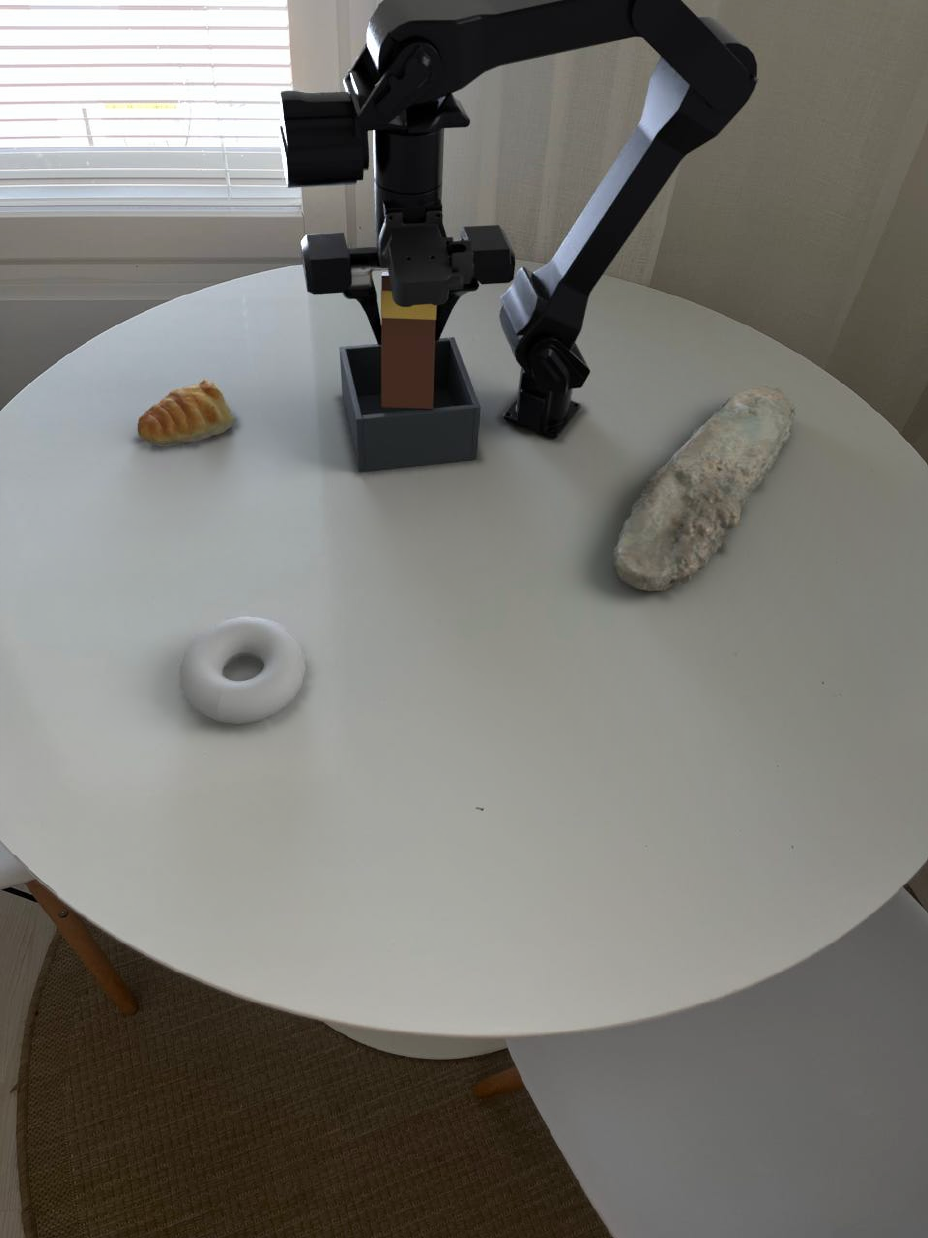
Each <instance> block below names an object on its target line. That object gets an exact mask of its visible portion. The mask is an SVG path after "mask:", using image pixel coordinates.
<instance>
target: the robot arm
mask: <svg viewBox="0 0 928 1238" xmlns="http://www.w3.org/2000/svg"><path fill="white" fill-rule="evenodd" d="M631 38H642V39H643V40H644V41H645V42H646V43H647V44H648V45H649V46H650V47H651V48H652V49H653V50H654V51H655V52H656V53H657V54H658V56H660V57H659V59H658V61H657V63H656V65H655V68H654V70H653V72H652V74H651V77H650V78H649V83H648V88H647V91H646V96H645V100H644V105H643V109H642V114H641V118H640V120H639V123H638V124H637V126H636V128H635V129H634V130H633V133H632V134H631V135H630V137H629V139H628V140H627V142H626V143H625V144H624V147H623V148H622V149H621V151H620V153H619V154H618V155H617V157H616V159H615V160H614V162H613V164H612V165H611V167H610V168H609V170H608V172H607V173H606V175H605V176H604V178H603V180H601V182H600V183H599V185H598V187H597V188H596V190H595V191H594V193H593V195H592V196H591V198H590V199H589V201H588V202H587V204H586V205H585V207H584V209H582V212H581V213H580V215H579V217H578V218H577V220H576V221H575V223H574V225H572V227H571V229H570V231H569V232H568V234H567V235H566V236H565V238H564V240H563V241H562V243H561V244H560V246H559V248H558V249H557V251H556V252H555V254H554V256H553V257H552V258H551V260H550V261H549V262H548V263H547V264H545V265H544V266H542V267H540V268H539V269H537V270H535V271H533V272H532V270H529V268H527V267H525V266H521V267H520V268H519V269H518V271H517V272H516V275H515V271H516V255H515V253H516V252H515V251H514V249H513V247H512V244H511V243H510V241H509V239H508V236H507V234H506V231H504V230H503V228H502V227H501V226H500V225H499V224H494V225H493V224H492V225H491V224H490V225H489V224H488V225H472V226H471V225H470V226H469V225H468V226H462V228H461V230H460V238H454V237H453V236H448V235H447V233H446V229H445V225H444V221H443V219H444V214H443V204H442V203H443V174H444V148H445V147H444V146H445V145H444V144H445V129H460V128H467V127H469V126H470V124H471V119H470V117H469V115H468V113H467V112H466V110H465V108H464V106H463V104H462V102H461V101H460V100H458V99H457V98H456V97H455V96H454V94H455V93H457V92H458V91H462V90H463V89H465V88H466V87H468V85H470V84H471V83H472V82H474V81H475V80H476V79H478V78H479V77H480V76H481V75H483V74H484V73H487V72H489V71H491V70H494V69H495V68H496V69H497V68H499V67H501V66H507V65H512V64H516V63H520V62H521V63H522V62H524V61H530V60H534V59H539V58H543V57H548V56H552V55H557V54H561V53H566V52H571V51H577V50H580V49H581V50H582V49H585V48H589V47H590V48H591V47H594V46H599V45H604V44H609V43H613V42H617V41H621V40H622V41H623V40H626V39H631ZM758 81H759V79H758V63H757V59H756V56H755V54H754V52H753V51H752V50H751V49H750V48H749V47H748V46H747V45H746V44H745V43H744V42H743V41H742V40H741V39H740V38H738V37H737V36H736V35H735V34H734V33H732V31H731V30H729V29H728V28H727V27H726V26H725V25H723V24H722V22H720V21H719V20H717V19H715V18H713V17H711V16H698V15H696V14H695V12H694V11H692V10H691V8H690V7H688V5H687V4H686V3H685V2H684V1H683V0H381V2H379V3H378V5H377V7H376V9H375V11H374V12H373V14H372V16H371V17H370V19H369V23H368V27H367V30H366V43H365V44H364V46H363V47H362V49H361V51H360V52H359V54H358V55H357V57H356V59H355V60H354V62H353V63H352V65H351V67H350V69H348V71H347V73H346V75H345V76H344V78H343V81H342V82H343V85H344V88H345V91H327V92H326V91H325V92H322V91H321V92H319V91H318V92H305V91H300V90H281V92H279V99H280V123H281V124H280V125H279V126H278V129H279V131H278V132H279V141H280V149H281V150H280V151H281V157H282V165H283V170H284V178H285V179H284V180H285V185H286V187H287V188H286V189H294V188H295V189H297V188H315V187H333V186H334V187H335V186H355V185H357V182H358V181H359V182H360V181H364V175H365V174H364V173H365V171H369V169H370V147H369V132H372V133H373V169H374V170H373V172H374V175H373V176H374V216H375V217H374V219H375V246H368V247H366V246H365V247H350V248H349V247H348V244H347V239H346V236H345V232H330V233H310V234H305V236H304V237H303V238H302V240H301V241H300V252H301V253H300V254H301V263H302V269H303V275H304V280H305V287H306V291H307V293H309V294H312V295H315V296H316V295H331V294H332V295H333V294H342V295H343V297H344V298H345V299H348V300H356V301H357V302H358V303H359V304H360V306H361V308H362V310H363V311H364V313H365V315H366V317H367V321H368V322H369V325H370V327H371V330H372V332H373V335H374V338H375V341H376V344H378V345H381V314H380V310H379V303H378V292H377V290H376V285H375V282H374V278H373V272H378V271H379V272H380V271H387V272H388V273H389V278H390V284H391V290H392V297H393V301H394V302H395V303H396V304H397V305H399V306H401V307H411V306H413V305H423V304H433V305H436V321H435V341H438V340H439V338H441V336H442V333H443V331H444V330H445V327H446V325H447V322H448V320H449V318H450V316H451V314H452V311H453V309H454V308H455V306H456V304H457V303H458V301H459V300H460V298H461V297H462V296H464V295H466V294H467V293H472V292H477V290H479V288H480V285H496V284H497V285H498V284H510V283H511V282H512V281H513V282H512V283H511V285H510V287H509V288H508V289H507V291H506V292H505V293H503V294H502V295H501V296H499V300H500V302H501V304H502V305H501V308H500V310H499V315H498V317H499V322H500V326H501V329H502V331H503V333H504V336H505V338H506V340H507V342H508V345H509V347H510V350H511V352H512V354H513V357H514V358H515V360H516V363H517V364H518V365H519V367H520V373H519V374H520V375H519V382H518V390H517V397H516V399H515V400H514V401H513V403H512V404H511V405H510V406H509V407H508V408H507V409H506V410H505V412H504V413H503V420H505V421H507V422H510V423H512V424H515V425H518V426H519V427H523V428H525V429H528V430H530V431H533V432H535V433H538V434H540V435H543V436H545V437H548V438H551V439H557V438H559V436H560V435H561V434H562V433H563V432H564V430H565V429H566V428H567V427H568V425H569V424H570V423H571V421H572V420H573V419H574V418H575V417H576V415H577V414H578V413H579V411H580V410H581V404H580V403H578V402H576V401H573V400H572V395H573V389H581V388H583V386H584V385H585V382H586V381H587V379H588V377H589V375H590V374H591V369H590V367H589V366H588V363H587V362H586V360H585V358H584V356H583V354H582V353H581V350H580V348H579V346H578V344H577V342H576V341H577V339H578V338H579V336H580V334H581V331H582V330H583V329H582V328H583V324H584V320H585V315H586V311H587V306H588V301H589V298H590V296H591V293H592V291H594V289H595V287H596V286H597V284H598V283H599V281H600V280H601V278H602V277H603V276H604V274H605V273H606V271H607V270H608V269H609V267H610V265H611V264H612V262H613V261H614V260H615V258H616V256H617V255H618V254H619V252H620V251H621V250H622V248H623V247H624V245H625V244H626V242H627V241H628V239H629V238H630V236H631V235H632V233H633V232H634V231H635V229H636V227H637V226H638V224H639V223H640V221H641V220H642V219H643V217H644V216H645V214H646V213H647V211H648V210H649V209H650V207H651V206H652V204H653V203H654V201H656V199H657V197H658V196H659V194H660V193H661V192H662V190H663V189H664V187H665V186H666V185H667V182H668V181H669V180H670V178H671V177H672V175H673V174H674V173H675V171H676V169H677V168H678V166H679V165H680V163H681V162H682V161H683V160H684V159H685V158H686V156H687V155H688V154H691V153H692V152H693V151H695V150H697V149H698V148H700V147H702V146H703V145H705V144H706V143H708V142H710V141H712V140H713V139H715V138H716V137H718V136H719V135H720V134H721V133H722V132H723V130H724V129H725V128H726V127H727V126H728V125H729V124H730V123H731V122H732V120H734V118H735V117H736V116H737V115H738V114H739V113H740V112H741V111H742V110H743V108H744V107H745V106H746V105H747V103H748V102H749V101H750V99H751V97H752V95H753V93H754V92H755V90H756V87H757V84H758Z"/></svg>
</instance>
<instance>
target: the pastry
mask: <svg viewBox="0 0 928 1238" xmlns="http://www.w3.org/2000/svg"><path fill="white" fill-rule="evenodd" d="M234 422H235V418H234V414H233V412H232V410H231V408H230V405H229V404H228V403H227V401H226V400H225V397H224V394H223V393H222V391H221V390H220V388H219V387H218V386H217V385H216V384H215V383H214V382H211V381H209V380H206V379H203V380H202V381H199V383H198V384H193V385H191V386H184V387H182V388H179V389H174V390H172V391H170V392H169V393H168V394H167V395H166V396H165V397H164V398H162V399H161V400H160V401H159V402H158V403H156V404H153V405H152V406H151V407H149V409H148V410H146V411H145V412H144V413H143V414H142V415H141V416H140V417H139V418H138V423H137V435H138V437H139V438H140V439H141V440H142V441H144V442H145V443H148V444H151V445H153V446H158V447H166V446H167V447H174V446H175V445H181V444H184V445H187V444H191V443H195V442H199V441H203V440H206V439H209V438H210V437H212V436H214V435H215V436H218V435H222V434H224V433H225V432H227V431H228V430H229V429H230V428H231V427H232V425H233V424H234Z"/></svg>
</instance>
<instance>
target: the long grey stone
mask: <svg viewBox="0 0 928 1238" xmlns="http://www.w3.org/2000/svg"><path fill="white" fill-rule="evenodd" d="M796 408H797V407H796V406H795V405H794V404H792V400H791V398H790V396H788V394H786V393H784V392H783V391H782V390H781V389H780V387H769V386H767V385H764V386H756V387H753V388H748V389H746V390H742V391H740V392H738V393H734V394H733V395H732V396H731V397H728V398H727V399H726V400H724V402H723V403H722V404H721V405H720V406H719V408H718V409H717V410H716V411H714V413H713V414H712V416H710V418H708V419H707V421H706V422H704V424H703V425H700V426H698V427H695V429H694V431H693V432H692V436H691V437H690V439H689V440H687V441H686V443H684V444H683V445H682V446H681V447H680V448H679V449H678V450H676V451H675V452H674V454H673V455H672V457H671V458H670V460H669V461H667V463H665V465H663V467H660V469H658V470H655V471H654V474H653V475H652V476H651V477H650V478H649V479H648V480H647V485H645V486H644V489H643V490H641V491H640V496H639V498H637V500H635V502H634V503H633V504H632V507H631V509H630V510H631V511H630V516H629V517H628V518H627V519H626V520H625V521H624V522H623V524H622V529H621V531H620V533H619V535H618V542H617V545H616V546H615V547H614V549H613V561H614V562H613V565H614V567H615V570H616V576H617V577H618V578H619V579H620V580H621V581H622V582H624V583H626V584H627V585H628V586H631V587H633V588H635V589H637V590H641V591H647V592H653V591H656V592H659V591H660V592H662V591H663V592H665V591H666V590H667V589H670V588H671V587H672V586H675V584H676V583H677V582H679V581H680V583H681V584H682V585H685V584H687V583H688V582H690V581H691V580H692V579H693V575H695V574H696V573H697V572H698V571H700V570H702V569H704V567H706V566H707V565H708V563H709V560H710V559H711V558H712V556H713V555H715V554H717V552H718V549H721V548H722V544H723V542H724V541H725V540H726V539H727V537H728V536H729V534H730V530H731V529H734V528H736V527H737V526H738V525H739V524H740V522H741V513H742V511H743V510H744V508H745V505H746V504H747V503H748V502H747V501H748V499H749V498H750V495H751V494H752V492H754V491H755V490H756V488H757V487H759V485H760V484H761V483H762V481H763V479H764V476H766V474H768V473H770V472H771V470H772V468H773V465H774V464H775V463H776V461H777V459H778V456H779V452H780V451H781V449H782V447H783V445H785V443H786V442H787V441H788V440H789V438H790V436H791V432H790V431H791V429H792V424H793V423H794V419H795V418H794V417H795V416H796V412H797V411H796Z"/></svg>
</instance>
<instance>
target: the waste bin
mask: <svg viewBox="0 0 928 1238" xmlns="http://www.w3.org/2000/svg"><path fill="white" fill-rule="evenodd" d="M338 348H339V360H340V361H339V362H340V363H339V364H340V377H341V394H342V402H343V407H344V411H345V415H346V420H347V425H348V429H349V433H350V438H351V443H352V446H353V452H354V455H355V460H356V465H357V469H358V473H363V472H364V473H365V472H372V471H373V472H375V471H382V470H392V469H400V468H402V469H403V468H410V467H419V466H429V465H435V464H447V463H457V462H465V461H474V460H475V461H476V460H477V459H478V458H477V457H478V446H479V434H480V433H479V432H480V421H481V419H480V418H481V408H482V407H481V405H480V402H479V399H478V397H477V394H476V392H475V389H474V386H473V383H472V381H471V378H470V376H469V372H468V370H467V367H466V365H465V362H464V359H463V357H462V354H461V352H460V349H459V346H458V343H457V341H456V338H455V337H454V336H451V337H440V338H439V340H438V341H435V357H434V393H433V409H414V408H383V407H381V345H378V343H369V344H367V343H366V344H356V345H345V346H339V347H338Z"/></svg>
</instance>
